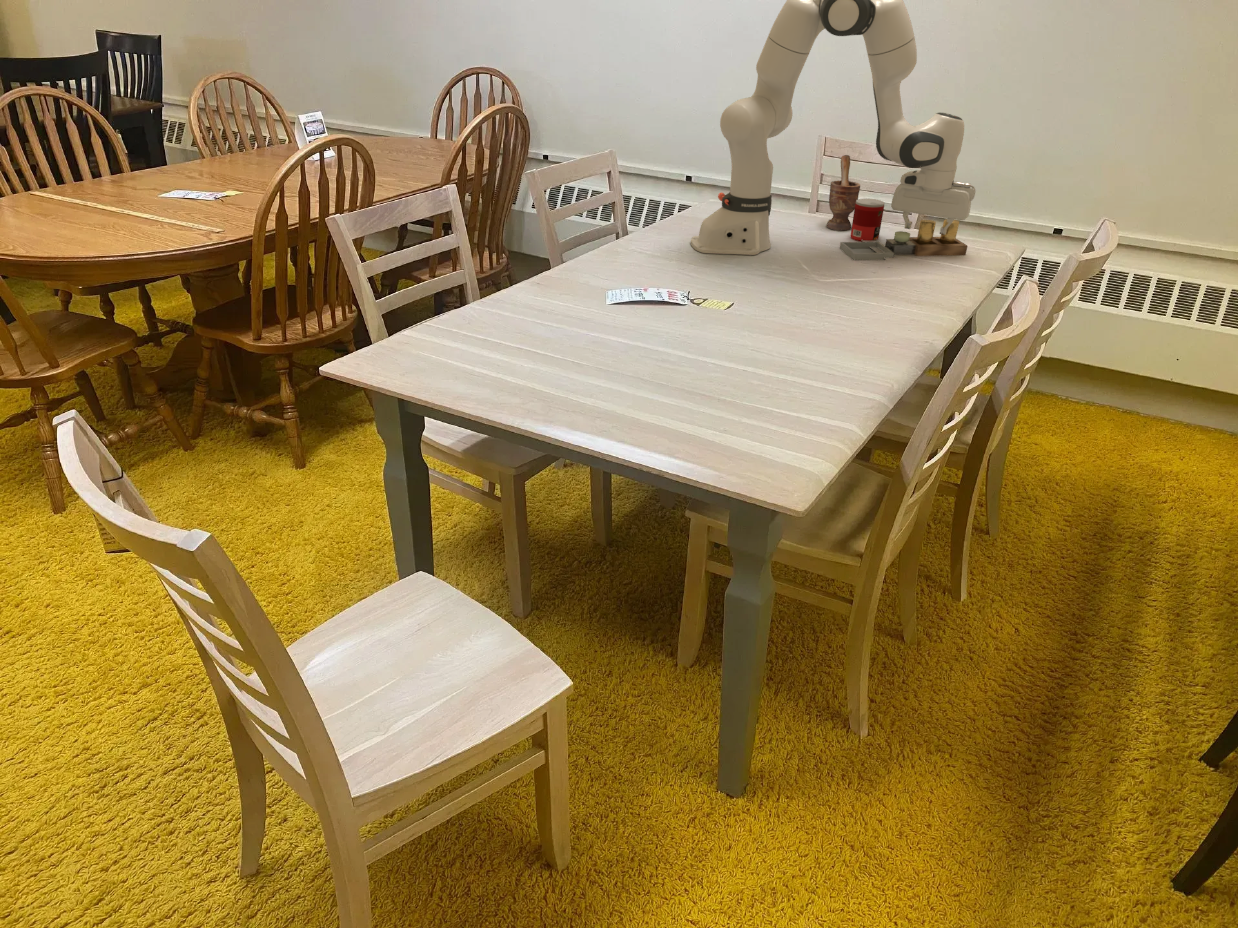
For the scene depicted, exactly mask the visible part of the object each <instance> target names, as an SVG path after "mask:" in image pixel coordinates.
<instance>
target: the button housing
mask: <svg viewBox="0 0 1238 928" xmlns="http://www.w3.org/2000/svg"><path fill="white" fill-rule="evenodd" d="M884 246H885V247H887V248H888V249H889V250H891V251H892V252H893V253H894V256H897V255H899V256H901V255H902V256H903V255H905V256H906V255H908V256H909V255H914V253H915V248H916V245H915V244H914V243H912V242H911V241H908V242H904V243H902V244H898V241H895V240H894V238H891V239H890V238H887V239H885V245H884Z"/></svg>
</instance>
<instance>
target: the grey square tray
mask: <svg viewBox="0 0 1238 928" xmlns="http://www.w3.org/2000/svg"><path fill="white" fill-rule="evenodd" d="M839 244H840V245H839V249H840V250H841V251H842V252H844V254H845V255H847V256H848V257H849V258H850V259H851V260H852V261H883V260H884V261H885V260H886V259H893V258H894V256H895V255H894V253H893V252H892V251H891V250H889V249H888V248H887V247H885V245H884V244H883V243H882V242H881V241H879V240H878V241H877V240H872V241H863V242H860V241H840V243H839ZM873 247H876V248H878V250H880V251H882V252H877V251H875V250H874V248H873Z"/></svg>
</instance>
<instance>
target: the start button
mask: <svg viewBox="0 0 1238 928" xmlns="http://www.w3.org/2000/svg"><path fill="white" fill-rule="evenodd" d="M893 237H894V238H893V239H894V240H895V241H898V244H902V243H904V242H908V241H909V238H910V237H911V233H910V232H908V231H903V230H902V231H895V232H894V236H893Z"/></svg>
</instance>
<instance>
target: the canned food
mask: <svg viewBox="0 0 1238 928" xmlns="http://www.w3.org/2000/svg"><path fill="white" fill-rule="evenodd" d="M884 210H885V202H884V201H883V200H881V199H877V198H858V200H856V203H855V209H854V211H853V217H852V221H851V222H852V223H851V229H850V239H851V240H853V241H855V242H864V241H865V242H873V241H877V240H879V238H880V233H881V226H882V222H883V215H884Z"/></svg>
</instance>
